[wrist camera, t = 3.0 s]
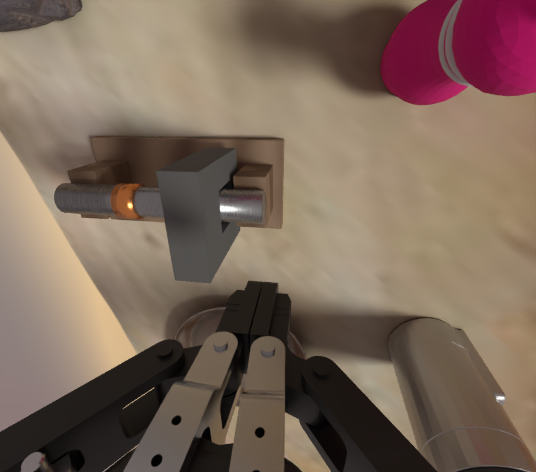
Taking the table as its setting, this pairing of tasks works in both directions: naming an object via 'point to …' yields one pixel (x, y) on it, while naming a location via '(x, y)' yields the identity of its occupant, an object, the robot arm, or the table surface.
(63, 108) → the table surface
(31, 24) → the perforated stone tool
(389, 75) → the pepper mill
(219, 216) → the collar
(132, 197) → the pipe
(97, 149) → the pipe stand
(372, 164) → the table surface
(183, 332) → the plant saucer
